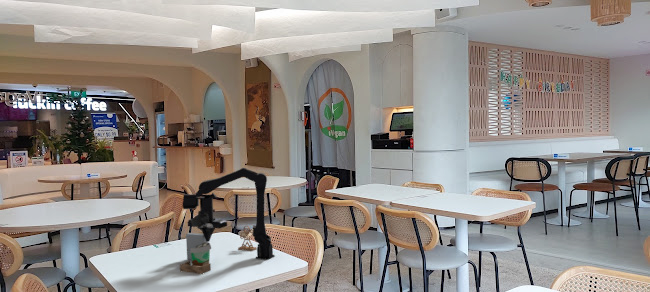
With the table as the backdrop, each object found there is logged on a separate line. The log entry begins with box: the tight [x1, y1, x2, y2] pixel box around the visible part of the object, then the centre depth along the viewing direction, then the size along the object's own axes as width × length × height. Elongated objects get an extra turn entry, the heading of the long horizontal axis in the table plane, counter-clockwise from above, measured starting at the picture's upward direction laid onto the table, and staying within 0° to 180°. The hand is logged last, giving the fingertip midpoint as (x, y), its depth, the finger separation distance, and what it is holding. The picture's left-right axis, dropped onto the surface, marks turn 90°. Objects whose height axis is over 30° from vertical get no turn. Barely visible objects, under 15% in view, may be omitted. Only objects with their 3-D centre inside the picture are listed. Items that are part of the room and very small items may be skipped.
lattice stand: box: [237, 225, 257, 252], centre depth 232 cm, size 9×4×12 cm, turn 64°
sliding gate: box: [185, 232, 206, 261], centre depth 215 cm, size 10×2×12 cm, turn 65°
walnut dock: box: [179, 260, 212, 275], centre depth 198 cm, size 12×6×3 cm, turn 65°
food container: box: [190, 241, 212, 266], centre depth 203 cm, size 12×6×10 cm, turn 168°
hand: (207, 241), depth 212 cm, fingers closed
